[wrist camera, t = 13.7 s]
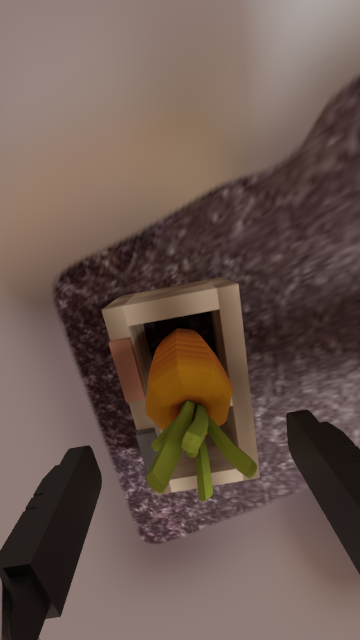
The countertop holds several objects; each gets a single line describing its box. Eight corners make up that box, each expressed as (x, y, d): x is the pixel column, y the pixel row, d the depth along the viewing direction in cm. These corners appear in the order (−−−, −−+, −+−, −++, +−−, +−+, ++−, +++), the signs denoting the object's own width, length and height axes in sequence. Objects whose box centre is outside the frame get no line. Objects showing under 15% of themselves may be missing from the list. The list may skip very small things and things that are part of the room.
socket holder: (221, 276, 20) (240, 285, 15) (242, 431, 25) (261, 483, 20) (120, 296, 21) (99, 311, 15) (159, 445, 26) (155, 500, 20)
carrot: (216, 325, 22) (301, 463, 7) (190, 365, 23) (220, 552, 8) (171, 300, 21) (170, 400, 6) (147, 343, 22) (99, 509, 8)
